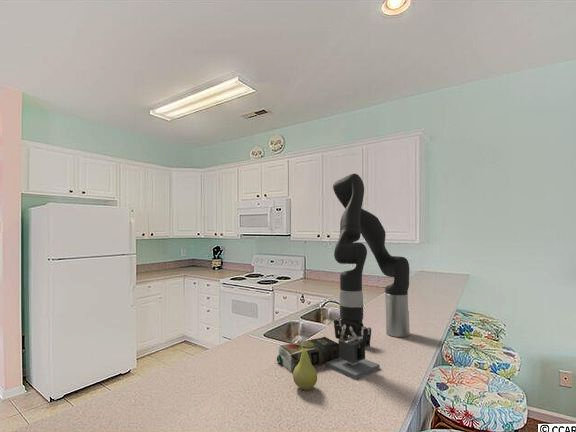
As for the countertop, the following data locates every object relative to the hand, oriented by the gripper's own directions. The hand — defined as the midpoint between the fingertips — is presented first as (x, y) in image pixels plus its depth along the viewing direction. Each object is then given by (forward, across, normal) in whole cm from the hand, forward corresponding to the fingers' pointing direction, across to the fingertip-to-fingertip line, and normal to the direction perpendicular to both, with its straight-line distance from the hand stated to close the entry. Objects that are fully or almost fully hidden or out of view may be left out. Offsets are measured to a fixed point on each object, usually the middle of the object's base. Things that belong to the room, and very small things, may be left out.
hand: (352, 356), depth 99 cm
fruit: (+4, 0, -21) cm, 21 cm away
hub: (+3, 0, 0) cm, 3 cm away
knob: (+1, 0, 0) cm, 1 cm away
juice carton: (+4, -13, -8) cm, 15 cm away
